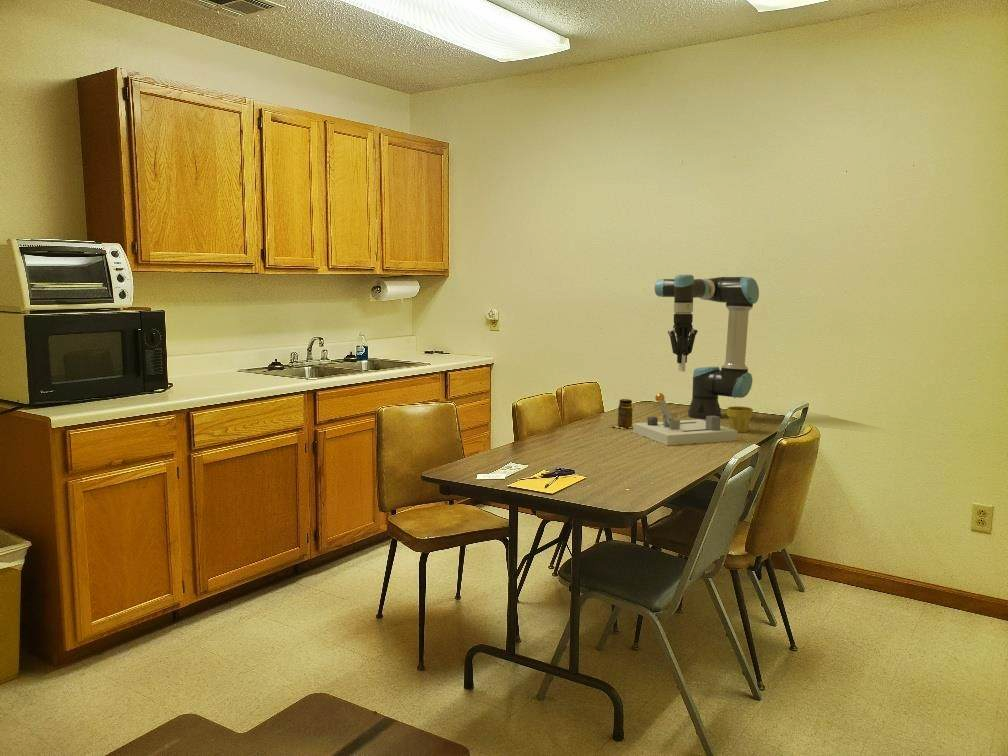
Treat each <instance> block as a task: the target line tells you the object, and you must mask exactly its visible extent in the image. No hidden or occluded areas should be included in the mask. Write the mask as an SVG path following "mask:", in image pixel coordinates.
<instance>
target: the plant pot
mask: <svg viewBox="0 0 1008 756" xmlns="http://www.w3.org/2000/svg"><path fill="white" fill-rule="evenodd" d="M753 411H754V409H753V408H752V407H749V406H728V407H727V408H726V415H727V417H728V420H729V426H730V427H729V428H731V429H734V430H737V433H746V432H748V430H749V427H750V422H751V418H752V417H753V416H754V415H753V413H754V412H753Z"/></svg>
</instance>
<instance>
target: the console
mask: <svg viewBox="0 0 1008 756" xmlns="http://www.w3.org/2000/svg"><path fill="white" fill-rule="evenodd" d="M658 419H659V417H657V416H647V422H638V423H637V422H636V423H633V422H632V427H633V428H632V429H633V430H632V431H633V432H634V433H633V432H632V433H633V434H635V433H637V434H639V435H638V436H640V435H642V436H641V437H643V436H645V437H647V438H646V439H648V438H650V439H649V440H651V439H652V440H651V441H653V440H655V441H654V442H656V441H658V442H657V443H659V442H660V443H659V444H661V443H663V444H662V445H664V444H665V446H667V445H670V446H679V445H678V444H683V445H692V444H693V443H696V444H705V443H706V442H709V443H721V442H720V441H722V442H733V441H732V440H736V441H737V440H738V432H737V430H734V429H731V427H726V426H723V425H720V430H710V429H706V420H703V419H701V418H696V419H685V420H684V419H682V420H680V419H677V420H674V418H673V420H670V425H668V423H667V421H666V418H664V423H663V421H658ZM637 434H636V435H637ZM645 437H644V438H645ZM706 444H707V443H706ZM693 445H694V444H693Z"/></svg>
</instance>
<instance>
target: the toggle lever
mask: <svg viewBox="0 0 1008 756" xmlns="http://www.w3.org/2000/svg"><path fill="white" fill-rule="evenodd" d="M654 400H655V401H656V402H657V403H658V405H659V407H660V410H661V411H662V413H663V414H664V416H665V418H666V421H667V423H668V425H670V420H673V418H672V415H671V413H670V411H671V410H670V408H669V406H668V404H667V401H666V400H665V395H664V393H661V392H659V393H657V394H655V399H654ZM663 414H662V415H663Z"/></svg>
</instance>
